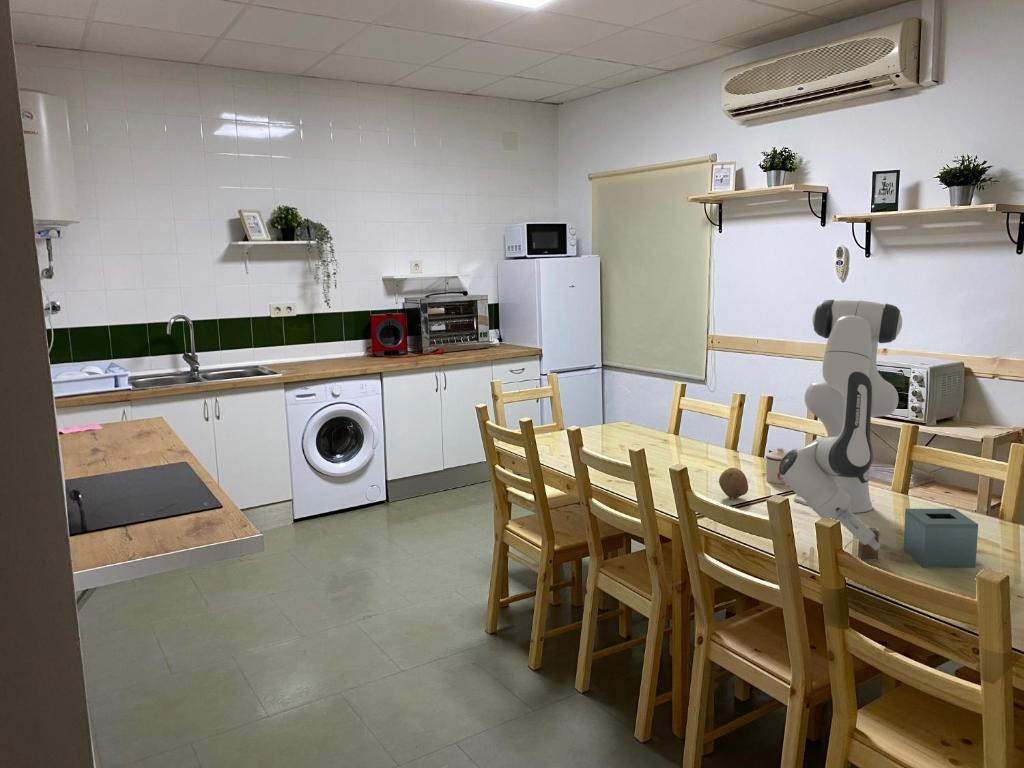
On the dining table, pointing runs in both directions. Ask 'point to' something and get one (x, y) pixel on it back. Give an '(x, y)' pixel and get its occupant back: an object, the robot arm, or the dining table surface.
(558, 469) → the dining table surface
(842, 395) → the robot arm
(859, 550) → the walnut block
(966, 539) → the blue-gray slotted box
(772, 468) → the teacup with lid
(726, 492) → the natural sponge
